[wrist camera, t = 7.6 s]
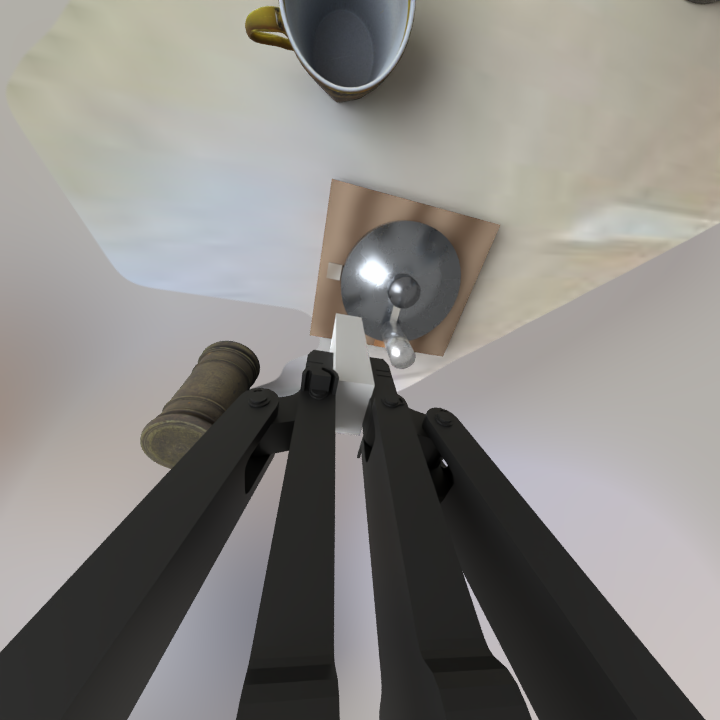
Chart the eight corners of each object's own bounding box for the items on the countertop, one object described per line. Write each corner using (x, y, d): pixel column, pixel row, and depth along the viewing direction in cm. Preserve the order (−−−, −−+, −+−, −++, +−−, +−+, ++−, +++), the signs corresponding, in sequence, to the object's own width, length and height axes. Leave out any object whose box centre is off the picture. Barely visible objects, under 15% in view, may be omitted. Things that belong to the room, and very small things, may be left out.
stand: (488, 223, 37) (501, 225, 34) (436, 347, 47) (443, 357, 44) (331, 180, 33) (331, 178, 30) (311, 327, 42) (309, 336, 40)
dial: (351, 207, 32) (358, 210, 23) (473, 234, 34) (519, 245, 26) (333, 329, 39) (333, 364, 31) (433, 342, 42) (458, 379, 34)
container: (193, 346, 42) (114, 429, 27) (246, 334, 42) (198, 410, 27) (220, 389, 47) (165, 481, 32) (268, 378, 47) (237, 465, 32)
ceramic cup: (386, -26, 25) (414, -144, 16) (394, 115, 30) (418, 81, 22) (249, -3, 25) (206, -108, 16) (281, 134, 30) (261, 108, 22)
